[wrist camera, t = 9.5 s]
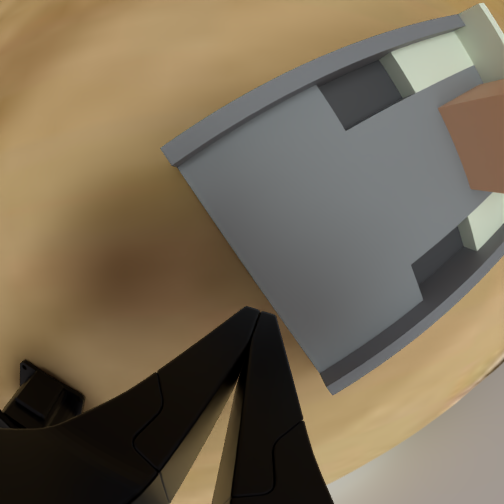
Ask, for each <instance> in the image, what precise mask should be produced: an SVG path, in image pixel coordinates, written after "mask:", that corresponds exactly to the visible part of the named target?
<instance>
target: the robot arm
mask: <svg viewBox="0 0 504 504" xmlns="http://www.w3.org/2000/svg"><path fill="white" fill-rule="evenodd" d="M259 314H260V315H259ZM238 377H239V378H238ZM237 380H238V382H237ZM236 382H237V385H236ZM235 385H236V389H235V394H234V399H233V404H232V409H231V414H230V418H229V423H228V428H227V433H226V438H225V443H224V447H223V452H222V457H221V462H220V467H219V471H218V476H217V481H216V485H215V490H214V495H213V499H212V504H334V503H333V500H332V498H331V495H330V493H329V491H328V488H327V486H326V484H325V481H324V479H323V477H322V474H321V472H320V469H319V467H318V464H317V461H316V459H315V456H314V454H313V450H312V447H311V444H310V440H309V437H308V434H307V430H306V426H305V422H304V421H302V420H303V415H302V411H301V408H300V404H299V400H298V396H297V392H296V389H295V385H294V381H293V377H292V374H291V370H290V366H289V362H288V359H287V355H286V351H285V347H284V344H283V340H282V336H281V333H280V329H279V325H278V321H277V318H276V316H275V315H274V314H271V313H267V312H264V311H262V312H260V311H259V310H258V309H255V308H252V307H248V306H245V307H244V308H242V309H241V310H240V311H238V312H237V313H236V314H234V315H233V316H232V317H230V318H229V319H228V320H226V321H225V322H224V323H222V324H221V325H220V326H218V327H217V328H216V329H214V330H213V331H212V332H210V333H209V334H208V335H206V336H205V337H204V338H202V339H201V340H199V341H198V342H197V343H195V344H194V345H193V346H191V347H190V348H188V349H187V350H186V351H184V352H183V353H182V354H180V355H179V356H177V357H176V358H175V359H173V360H172V361H170V362H169V363H168V364H166V365H165V366H163V367H162V368H161V369H159V370H158V371H157V373H156V372H155V373H153V374H152V375H150V376H149V377H148V378H146V379H145V380H143V381H142V382H140V383H139V384H137V385H136V386H134V387H132V388H131V389H129V390H128V391H126V392H124V393H122V394H120V395H119V396H117V397H115V398H113V399H111V400H109V401H107V402H105V403H103V404H101V405H99V406H97V407H95V408H93V409H91V410H89V411H86V412H84V413H82V411H83V406H84V400H85V398H84V396H83V395H82V394H80V393H79V392H77V391H75V390H73V389H71V388H70V387H68V386H66V385H64V384H63V383H61V382H59V381H57V380H56V379H54V378H52V377H51V376H49V375H47V374H46V373H44V372H43V371H41V370H40V369H38V368H36V367H35V366H33V365H32V364H30V363H29V362H27V361H26V360H23V361H22V362H21V363H20V388H19V389H18V390H17V392H16V393H15V394H14V396H13V397H12V398H11V399H10V401H9V402H8V403H7V405H6V406H5V407H4V409H3V410H2V411H1V410H0V504H170V503H171V501H172V499H173V498H174V496H175V494H176V492H177V491H178V489H179V487H180V486H181V484H182V482H183V481H184V479H185V477H186V475H187V474H188V472H189V470H190V468H191V467H192V465H193V463H194V461H195V460H196V458H197V456H198V454H199V452H200V451H201V449H202V447H203V445H204V443H205V442H206V440H207V438H208V436H209V434H210V433H211V431H212V429H213V427H214V425H215V423H216V421H217V420H218V418H219V416H220V414H221V412H222V410H223V408H224V406H225V404H226V403H227V401H228V399H229V397H230V395H231V393H232V391H233V389H234V387H235Z"/></svg>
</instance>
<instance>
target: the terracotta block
mask: <svg viewBox="0 0 504 504" xmlns="http://www.w3.org/2000/svg"><path fill="white" fill-rule="evenodd" d="M438 110H439V112H440V114H441V116H442V118H443V120H444V122H445V125H446V127H447V129H448V131H449V133H450V136H451V138H452V140H453V143H454V145H455V147H456V150H457V152H458V155H459V157H460V160H461V163H462V165H463V168H464V171H465V173H466V176H467V179H468V182H469V185H470V188H471V189H473V190H481V191H488V192H496V193H503V194H504V79H501V80H497V81H492V82H488V83H484V84H480V85H478V86H476V87H474V88H472V89H470V90H469V91H467V92H465V93H463V94H462V95H460V96H458V97H456V98H455V99H453V100H451V101H449V102H448V103H446V104H444V105H443V106H441V107H439V108H438Z"/></svg>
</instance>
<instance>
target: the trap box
mask: <svg viewBox="0 0 504 504" xmlns="http://www.w3.org/2000/svg"><path fill="white" fill-rule="evenodd" d="M501 79H504V34H503V32H502V31H501V29H500V27H499V26H498V24H497V22H496V21H495V19H494V18H493V16H492V14H491V13H490V11H489V10H488V8H487V7H486V5H485V4H484V3H479V4H477V5H475V6H473V7H471V8H469V9H467V10H465V11H463V12H461V13H459V14H457V15H451V16H446V17H442V18H437V19H433V20H428V21H424V22H420V23H416V24H413V25H409V26H405V27H402V28H399V29H395V30H392V31H389V32H385V33H382V34H379V35H376V36H373V37H370V38H368V39H365V40H362V41H359V42H356V43H354V44H351V45H348V46H346V47H343V48H341V49H338V50H336V51H333V52H331V53H328V54H326V55H324V56H321V57H319V58H317V59H314V60H312V61H310V62H308V63H306V64H303V65H301V66H299V67H297V68H295V69H293V70H291V71H289V72H286V73H284V74H282V75H280V76H278V77H276V78H274V79H272V80H271V81H269V82H267V83H265V84H263V85H261V86H259V87H257V88H255V89H254V90H252V91H250V92H248V93H246V94H244V95H243V96H241V97H239V98H237V99H236V100H234V101H232V102H230V103H229V104H227V105H225V106H224V107H222V108H220V109H219V110H217V111H215V112H214V113H212V114H211V115H209V116H207V117H206V118H204V119H203V120H201V121H199V122H198V123H196V124H195V125H193V126H192V127H190V128H189V129H187V130H186V131H184V132H183V133H181V134H180V135H178V136H177V137H175V138H174V139H173V140H171V141H170V142H168V143H167V144H165V145H164V146H163V147H161V148H160V149H161V150H162V152H163V153H164V155H165V156H166V158H167V159H168V161H169V162H170V164H171V165H172V166H175V167H177V168H178V169H179V171H180V172H181V174H182V175H183V177H184V178H185V180H186V181H187V183H188V184H189V186H190V187H191V189H192V190H193V192H194V193H195V195H196V196H197V198H198V199H199V200H200V202H201V203H202V205H203V206H204V208H205V209H206V211H207V212H208V214H209V215H210V217H211V218H212V220H213V221H214V223H215V224H216V226H217V227H218V228H219V230H220V231H221V233H222V234H223V236H224V237H225V239H226V240H227V242H228V243H229V245H230V246H231V247H232V249H233V250H234V252H235V253H236V255H237V256H238V258H239V259H240V260H241V262H242V263H243V265H244V266H245V268H246V269H247V271H248V272H249V274H250V275H251V276H252V278H253V279H254V281H255V282H256V284H257V285H258V286H259V288H260V289H261V291H262V292H263V294H264V295H265V297H266V298H267V299H268V301H269V302H270V304H271V305H272V307H273V308H274V309H275V311H276V312H277V314H278V315H279V317H280V318H281V319H282V321H283V322H284V324H285V325H286V327H287V328H288V329H289V331H290V332H291V334H292V335H293V336H294V338H295V339H296V341H297V342H298V343H299V345H300V346H301V348H302V349H303V351H304V352H305V353H306V355H307V356H308V358H309V359H310V360H311V362H312V363H313V365H314V366H315V367H316V369H317V370H318V372H319V373H320V375H321V377H322V379H323V381H324V383H325V385H326V387H327V389H328V390H329V391H330V393H331V394H332V395H334V394H336V393H338V392H339V391H341V390H343V389H344V388H346V387H347V386H349V385H351V384H352V383H354V382H355V381H357V380H358V379H360V378H361V377H363V376H364V375H366V374H367V373H369V372H370V371H372V370H373V369H375V368H376V367H378V366H379V365H381V364H382V363H383V362H385V361H386V360H388V359H389V358H390V357H392V356H393V355H394V354H396V353H397V352H399V351H400V350H401V349H403V348H404V347H405V346H406V345H408V344H409V343H410V342H412V341H413V340H414V339H415V338H417V337H418V336H419V335H420V334H422V333H423V332H424V331H425V330H427V329H428V328H429V327H430V326H431V325H433V324H434V323H435V322H436V321H437V320H438V319H440V318H441V317H442V316H443V315H444V314H445V313H446V312H448V311H449V310H450V309H451V308H452V307H453V306H454V305H455V304H456V303H457V302H458V301H460V300H461V299H462V298H463V297H464V296H465V295H466V294H467V293H468V292H469V291H470V290H471V289H472V288H473V287H474V286H475V285H476V284H477V283H478V282H479V281H480V280H481V279H482V278H483V277H484V276H485V275H486V274H487V273H488V272H489V271H490V269H491V268H492V267H493V266H494V265H495V264H496V263H497V262H498V261H499V260H500V259H501V257H502V256H503V255H504V194H503V193H496V192H488V191H481V190H473V189H471V188H470V185H469V182H468V179H467V176H466V173H465V171H464V168H463V165H462V163H461V160H460V157H459V155H458V152H457V150H456V147H455V145H454V143H453V140H452V138H451V136H450V133H449V131H448V129H447V127H446V125H445V122H444V120H443V118H442V116H441V114H440V112H439V110H438V108H439V107H441V106H443V105H444V104H446V103H448V102H449V101H451V100H453V99H455V98H456V97H458V96H460V95H462V94H463V93H465V92H467V91H469V90H470V89H472V88H474V87H476V86H478V85H480V84H484V83H488V82H492V81H497V80H501Z"/></svg>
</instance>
